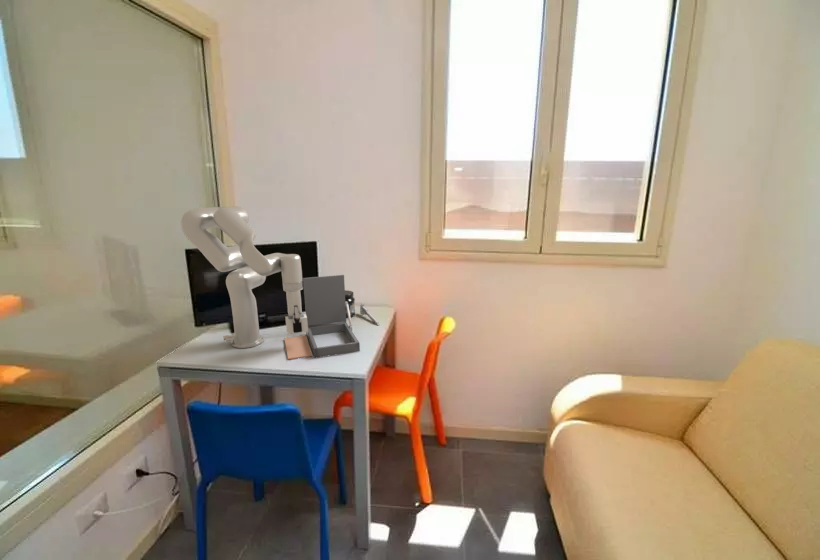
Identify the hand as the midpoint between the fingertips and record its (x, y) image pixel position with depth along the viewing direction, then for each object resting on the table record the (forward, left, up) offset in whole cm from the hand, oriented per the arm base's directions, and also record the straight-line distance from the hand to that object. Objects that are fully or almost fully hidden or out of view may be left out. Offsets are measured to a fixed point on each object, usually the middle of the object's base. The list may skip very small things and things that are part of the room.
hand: (297, 329), depth 161 cm
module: (0, 0, -1) cm, 1 cm away
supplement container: (+26, +33, -8) cm, 43 cm away
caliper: (+36, +23, -8) cm, 43 cm away
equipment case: (+14, 0, -8) cm, 16 cm away
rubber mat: (0, 0, -8) cm, 8 cm away
